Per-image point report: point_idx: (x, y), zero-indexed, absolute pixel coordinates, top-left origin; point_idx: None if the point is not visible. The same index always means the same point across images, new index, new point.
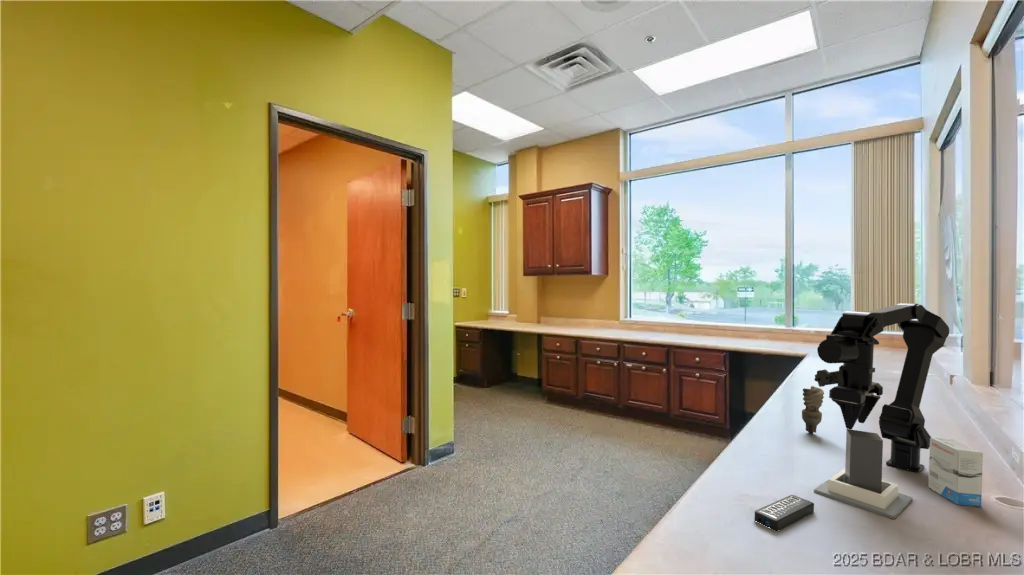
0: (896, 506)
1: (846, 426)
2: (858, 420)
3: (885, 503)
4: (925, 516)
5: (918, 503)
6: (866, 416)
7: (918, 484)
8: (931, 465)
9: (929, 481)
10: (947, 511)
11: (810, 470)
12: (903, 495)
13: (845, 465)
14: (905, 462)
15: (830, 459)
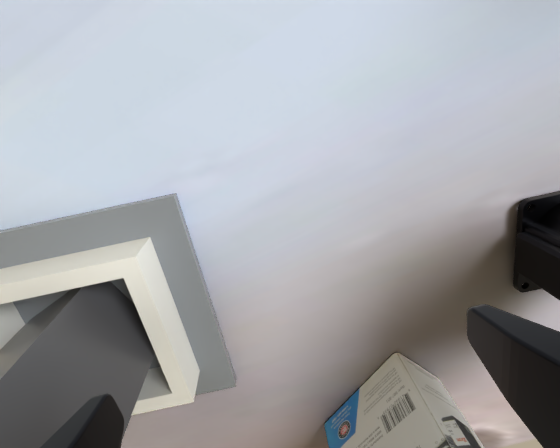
0: None
1: (81, 414)
2: (478, 317)
3: None
4: (155, 432)
5: (228, 393)
6: (524, 419)
7: (395, 331)
8: (421, 429)
9: (399, 371)
10: (249, 434)
11: (122, 101)
12: (222, 373)
13: (55, 317)
14: (529, 275)
15: (370, 53)
